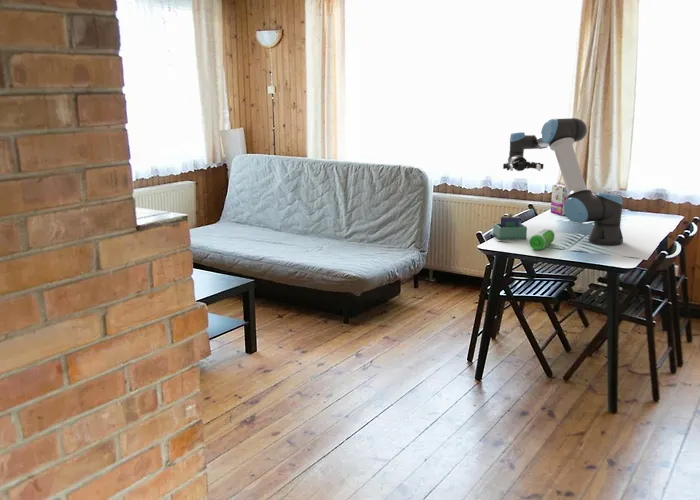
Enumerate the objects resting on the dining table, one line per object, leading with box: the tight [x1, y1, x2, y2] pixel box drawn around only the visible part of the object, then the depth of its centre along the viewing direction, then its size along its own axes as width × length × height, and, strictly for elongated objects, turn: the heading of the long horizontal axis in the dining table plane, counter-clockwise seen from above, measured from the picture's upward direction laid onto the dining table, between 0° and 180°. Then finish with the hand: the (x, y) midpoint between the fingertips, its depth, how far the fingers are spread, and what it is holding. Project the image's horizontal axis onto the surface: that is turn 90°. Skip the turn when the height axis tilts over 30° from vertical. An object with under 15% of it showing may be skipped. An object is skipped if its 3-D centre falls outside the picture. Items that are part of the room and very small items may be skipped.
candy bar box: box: [550, 183, 568, 216], centre depth 377 cm, size 11×5×16 cm, turn 17°
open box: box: [492, 222, 528, 241], centre depth 323 cm, size 10×13×6 cm
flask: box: [500, 212, 521, 228], centre depth 322 cm, size 9×3×11 cm, turn 87°
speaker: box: [529, 228, 555, 251], centre depth 304 cm, size 18×7×8 cm, turn 147°
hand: (525, 168), depth 330 cm, fingers open, 13 cm apart
